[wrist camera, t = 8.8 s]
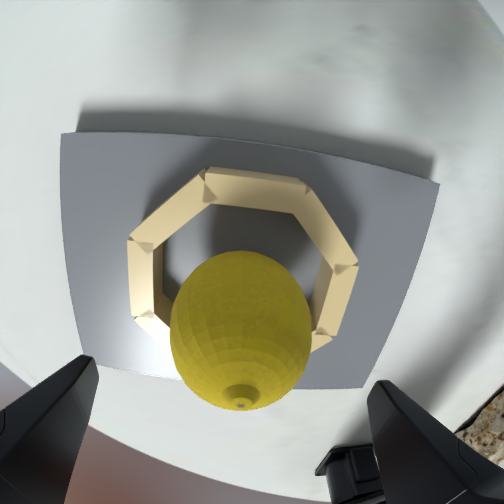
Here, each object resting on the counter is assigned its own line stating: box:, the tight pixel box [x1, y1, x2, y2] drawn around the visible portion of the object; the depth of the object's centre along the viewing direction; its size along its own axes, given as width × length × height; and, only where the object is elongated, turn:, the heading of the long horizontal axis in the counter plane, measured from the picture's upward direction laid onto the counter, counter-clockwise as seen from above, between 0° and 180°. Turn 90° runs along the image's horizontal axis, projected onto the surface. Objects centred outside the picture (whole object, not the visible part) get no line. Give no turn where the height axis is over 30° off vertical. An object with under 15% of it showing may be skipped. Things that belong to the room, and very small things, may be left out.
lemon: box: [170, 250, 312, 411], centre depth 12 cm, size 6×6×8 cm
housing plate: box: [60, 132, 440, 389], centre depth 16 cm, size 15×20×4 cm
